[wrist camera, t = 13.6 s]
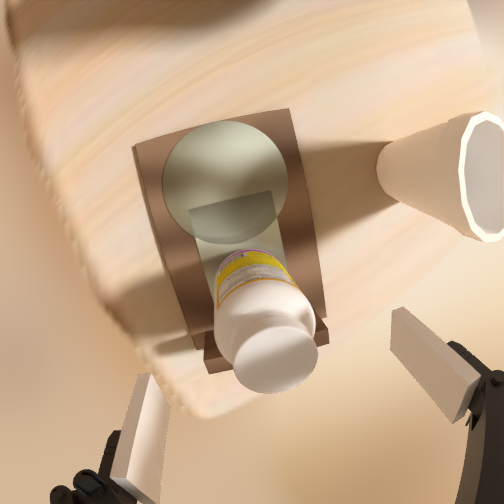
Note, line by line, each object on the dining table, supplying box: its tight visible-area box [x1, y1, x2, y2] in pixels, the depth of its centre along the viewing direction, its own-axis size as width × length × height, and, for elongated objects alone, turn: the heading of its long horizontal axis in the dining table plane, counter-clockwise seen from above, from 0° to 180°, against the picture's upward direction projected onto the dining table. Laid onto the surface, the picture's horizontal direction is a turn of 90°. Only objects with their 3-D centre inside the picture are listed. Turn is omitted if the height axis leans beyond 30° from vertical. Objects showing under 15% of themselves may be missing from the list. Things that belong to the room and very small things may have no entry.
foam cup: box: [376, 111, 504, 242], centre depth 20 cm, size 10×9×13 cm
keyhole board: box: [135, 108, 329, 374], centre depth 23 cm, size 21×14×5 cm, turn 12°
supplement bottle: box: [214, 249, 318, 394], centre depth 21 cm, size 7×7×13 cm
